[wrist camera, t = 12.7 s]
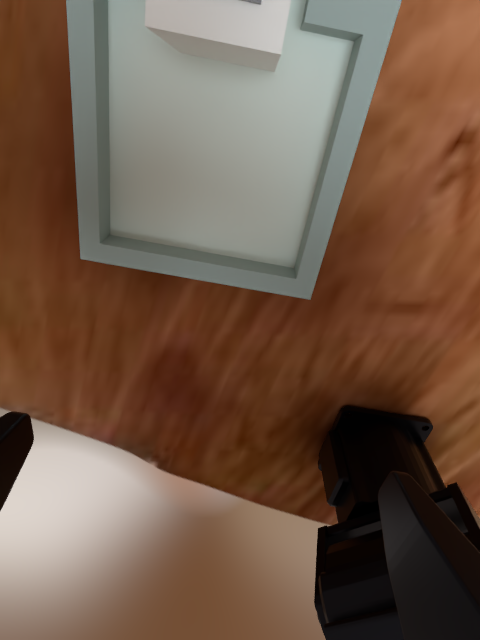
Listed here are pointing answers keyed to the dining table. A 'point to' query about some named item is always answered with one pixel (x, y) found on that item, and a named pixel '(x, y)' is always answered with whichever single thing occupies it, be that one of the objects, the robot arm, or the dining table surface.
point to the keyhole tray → (219, 143)
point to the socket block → (222, 29)
